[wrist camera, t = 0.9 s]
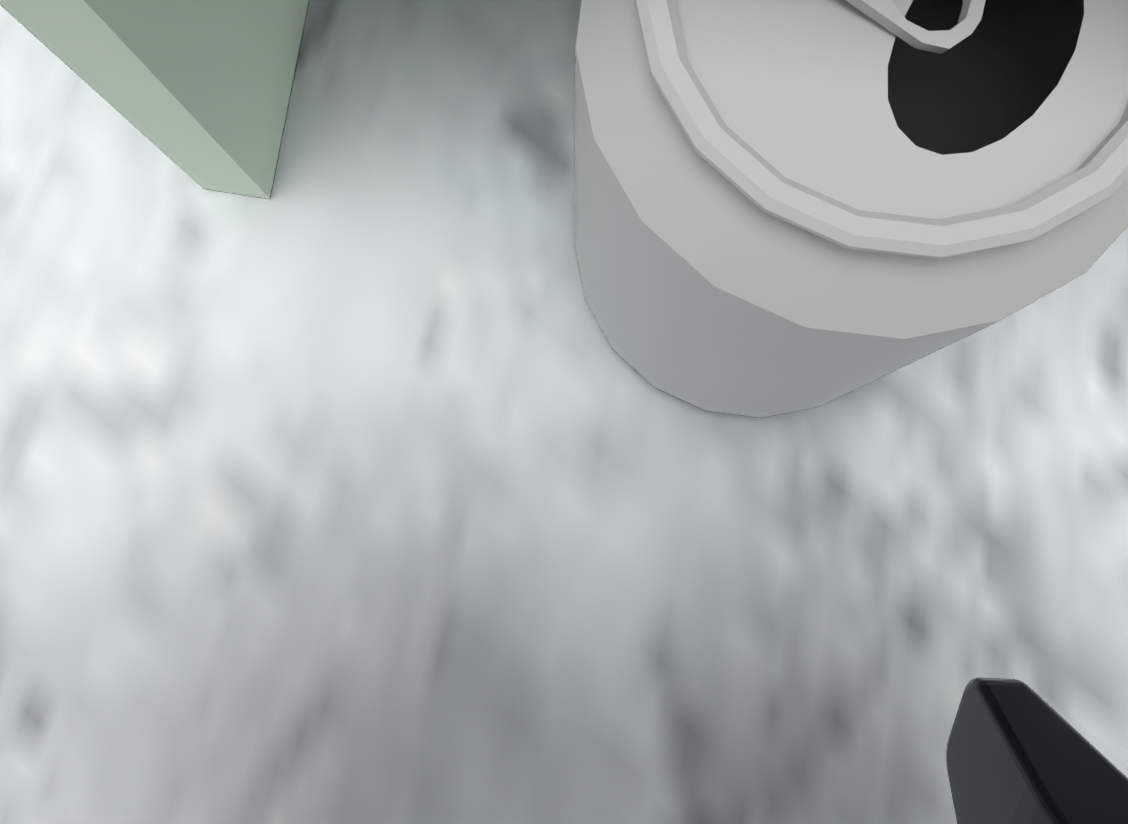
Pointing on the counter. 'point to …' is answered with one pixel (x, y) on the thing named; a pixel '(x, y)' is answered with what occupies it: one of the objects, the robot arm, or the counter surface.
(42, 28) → the shelf
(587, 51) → the can
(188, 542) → the counter surface
